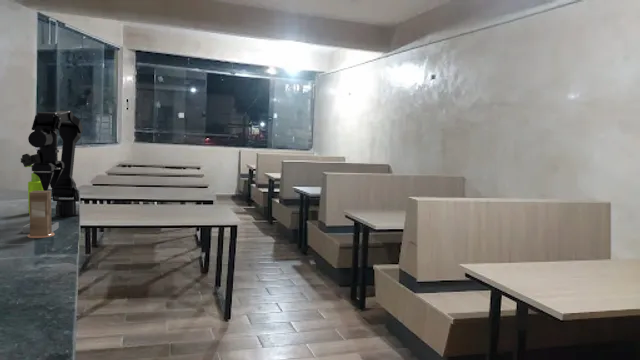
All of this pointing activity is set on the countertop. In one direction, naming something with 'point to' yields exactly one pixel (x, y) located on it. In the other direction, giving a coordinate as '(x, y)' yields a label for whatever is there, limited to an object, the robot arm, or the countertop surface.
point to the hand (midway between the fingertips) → (49, 189)
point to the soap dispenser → (34, 185)
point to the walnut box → (40, 213)
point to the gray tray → (27, 227)
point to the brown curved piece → (41, 236)
